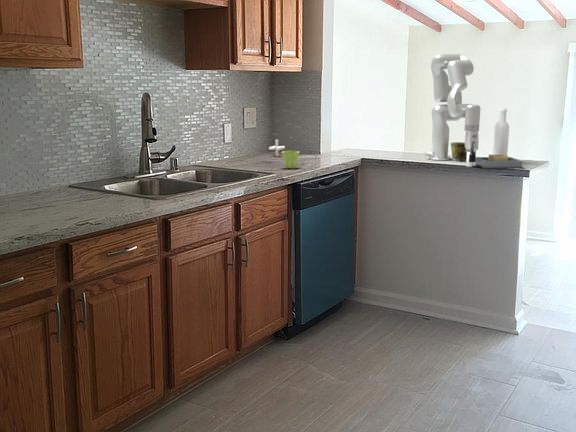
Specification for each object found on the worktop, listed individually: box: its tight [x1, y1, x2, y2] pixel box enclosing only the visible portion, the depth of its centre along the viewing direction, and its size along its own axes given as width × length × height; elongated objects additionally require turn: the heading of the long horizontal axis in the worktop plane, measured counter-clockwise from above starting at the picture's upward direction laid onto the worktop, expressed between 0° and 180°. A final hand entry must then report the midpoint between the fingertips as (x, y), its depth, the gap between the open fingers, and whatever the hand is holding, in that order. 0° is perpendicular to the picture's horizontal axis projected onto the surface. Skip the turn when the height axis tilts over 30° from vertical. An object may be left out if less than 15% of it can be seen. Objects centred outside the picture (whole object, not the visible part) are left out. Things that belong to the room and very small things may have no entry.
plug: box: [465, 149, 474, 168], centre depth 336 cm, size 4×4×9 cm
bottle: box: [492, 107, 510, 156], centre depth 350 cm, size 8×8×30 cm
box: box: [474, 154, 523, 170], centre depth 335 cm, size 20×16×6 cm
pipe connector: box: [268, 139, 286, 157], centre depth 379 cm, size 10×10×10 cm
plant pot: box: [281, 150, 300, 169], centre depth 331 cm, size 9×9×9 cm
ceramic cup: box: [450, 141, 466, 162], centre depth 358 cm, size 13×10×10 cm
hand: (469, 160), depth 336 cm, fingers open, 7 cm apart
